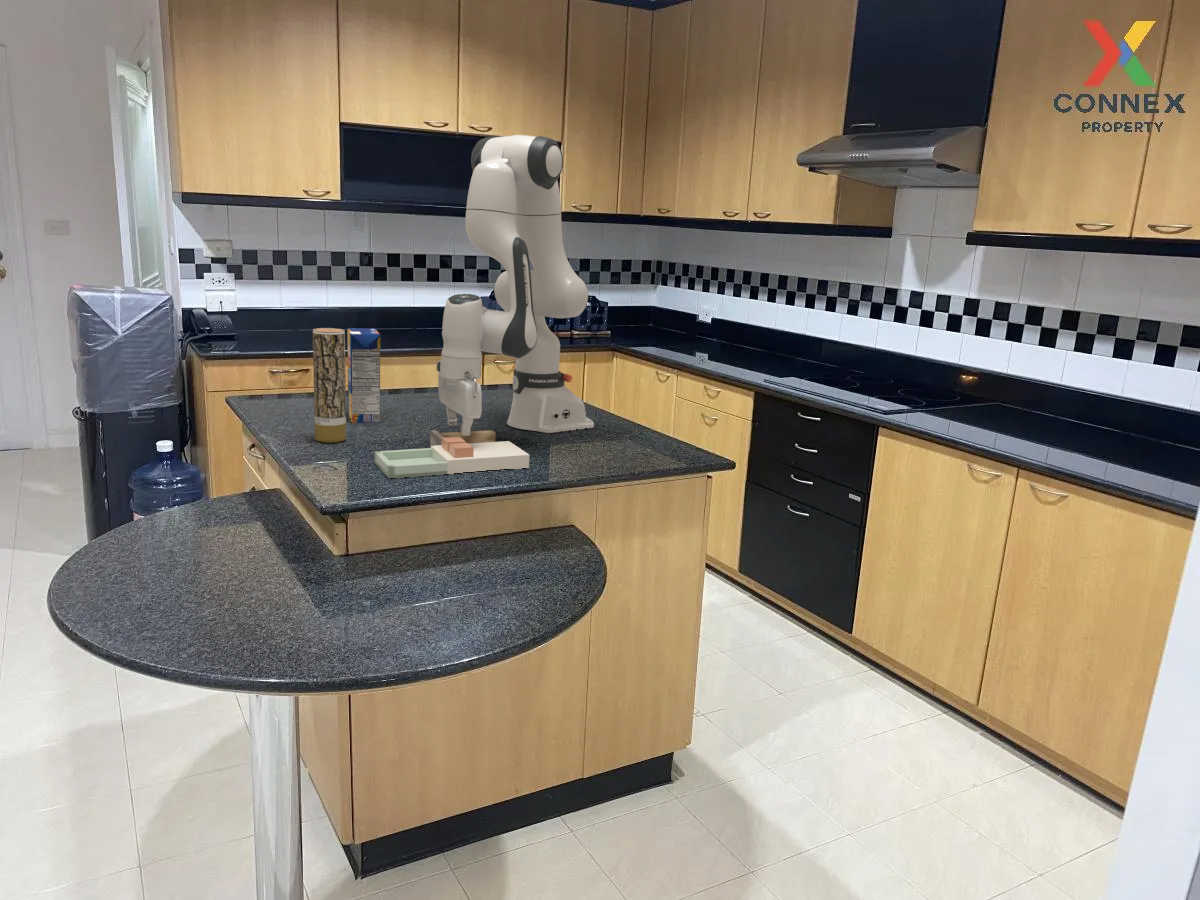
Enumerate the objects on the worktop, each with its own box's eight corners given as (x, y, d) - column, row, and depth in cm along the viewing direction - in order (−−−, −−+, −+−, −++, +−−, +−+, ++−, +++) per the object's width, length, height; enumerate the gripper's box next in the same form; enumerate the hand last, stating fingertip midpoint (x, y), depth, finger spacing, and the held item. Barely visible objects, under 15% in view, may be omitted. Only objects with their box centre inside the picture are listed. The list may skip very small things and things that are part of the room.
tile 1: (459, 445, 192) (459, 436, 192) (465, 450, 189) (465, 441, 188) (441, 447, 190) (441, 437, 190) (447, 451, 187) (447, 442, 187)
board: (508, 454, 200) (508, 441, 199) (528, 468, 190) (529, 454, 189) (430, 459, 192) (430, 445, 191) (447, 474, 181) (447, 460, 181)
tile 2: (467, 451, 188) (467, 442, 188) (473, 456, 185) (473, 447, 184) (448, 452, 186) (449, 443, 186) (454, 457, 183) (454, 448, 182)
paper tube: (337, 445, 198) (335, 333, 192) (309, 441, 199) (306, 330, 193) (351, 438, 204) (350, 329, 198) (324, 435, 206) (322, 327, 199)
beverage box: (351, 423, 218) (350, 334, 213) (348, 413, 228) (347, 328, 223) (380, 423, 221) (380, 334, 215) (375, 413, 231) (375, 328, 225)
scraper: (484, 442, 209) (485, 425, 208) (501, 454, 200) (502, 437, 199) (430, 445, 203) (430, 428, 202) (444, 458, 194) (445, 440, 193)
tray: (430, 459, 192) (430, 448, 191) (447, 474, 181) (447, 462, 181) (374, 463, 186) (374, 451, 186) (388, 479, 176) (388, 466, 175)
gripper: (490, 376, 188) (487, 440, 191) (460, 362, 206) (458, 420, 209) (462, 376, 185) (459, 441, 189) (434, 361, 203) (432, 421, 206)
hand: (458, 430), depth 199 cm, fingers open, 8 cm apart
